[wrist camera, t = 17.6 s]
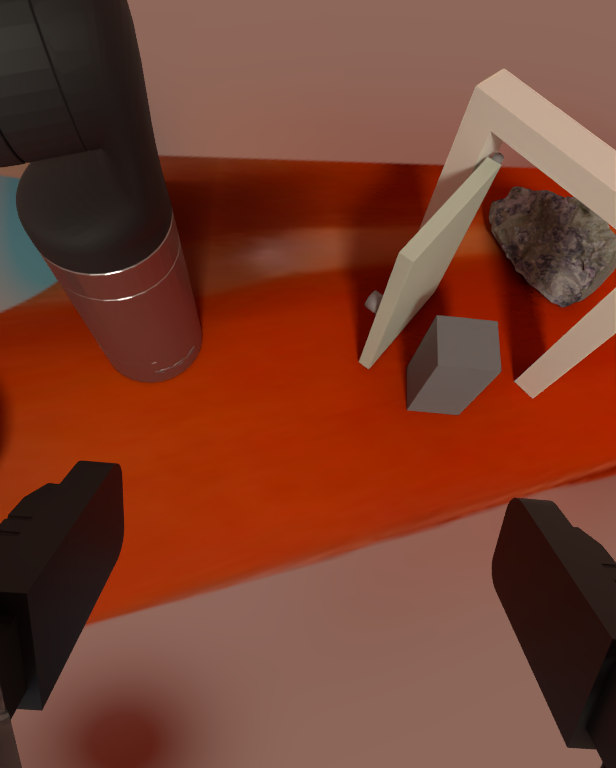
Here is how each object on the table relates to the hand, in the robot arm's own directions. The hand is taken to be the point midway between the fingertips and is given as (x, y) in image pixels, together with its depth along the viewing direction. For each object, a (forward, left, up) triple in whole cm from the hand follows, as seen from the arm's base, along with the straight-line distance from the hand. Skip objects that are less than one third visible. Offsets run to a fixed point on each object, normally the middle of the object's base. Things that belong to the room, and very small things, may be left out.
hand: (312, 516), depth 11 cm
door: (-12, +25, -34) cm, 44 cm away
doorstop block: (-4, +22, -35) cm, 42 cm away
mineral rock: (-7, +43, -35) cm, 56 cm away
